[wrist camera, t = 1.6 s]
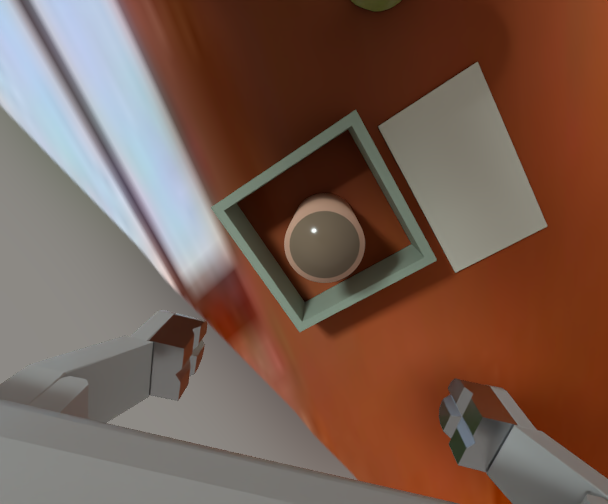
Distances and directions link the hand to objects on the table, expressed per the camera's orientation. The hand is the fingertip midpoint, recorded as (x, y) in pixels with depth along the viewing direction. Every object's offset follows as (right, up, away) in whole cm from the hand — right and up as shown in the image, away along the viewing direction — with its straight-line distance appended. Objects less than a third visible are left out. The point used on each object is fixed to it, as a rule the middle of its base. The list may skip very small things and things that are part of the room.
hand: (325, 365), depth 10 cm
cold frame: (+1, +6, +20) cm, 21 cm away
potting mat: (+14, +10, +18) cm, 25 cm away
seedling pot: (+1, +6, +20) cm, 21 cm away
